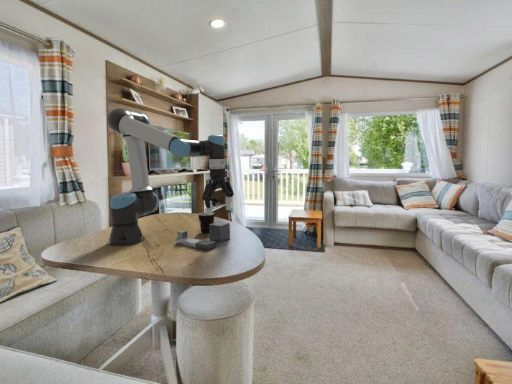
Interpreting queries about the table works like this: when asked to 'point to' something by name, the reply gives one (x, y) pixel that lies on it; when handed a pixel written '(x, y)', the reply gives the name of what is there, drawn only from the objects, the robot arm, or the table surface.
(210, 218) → the coffee mug
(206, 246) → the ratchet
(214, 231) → the dark grey cube
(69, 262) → the table surface
